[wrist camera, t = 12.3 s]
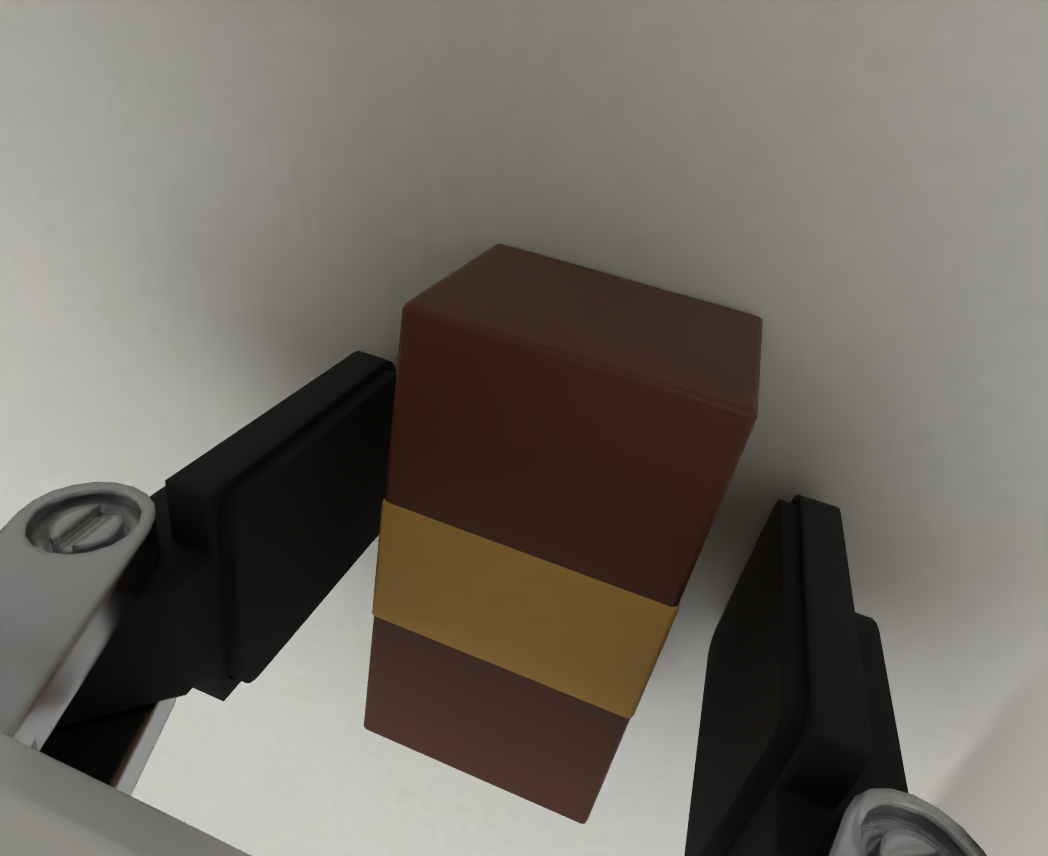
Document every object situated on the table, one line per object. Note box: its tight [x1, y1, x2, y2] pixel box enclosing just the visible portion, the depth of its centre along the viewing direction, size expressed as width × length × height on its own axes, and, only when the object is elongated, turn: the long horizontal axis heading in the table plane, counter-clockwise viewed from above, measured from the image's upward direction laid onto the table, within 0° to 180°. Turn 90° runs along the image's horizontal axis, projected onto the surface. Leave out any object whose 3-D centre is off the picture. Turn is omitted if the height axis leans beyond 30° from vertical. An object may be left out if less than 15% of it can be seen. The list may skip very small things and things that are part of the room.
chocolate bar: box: [364, 244, 762, 824], centre depth 9 cm, size 4×7×3 cm, turn 169°
